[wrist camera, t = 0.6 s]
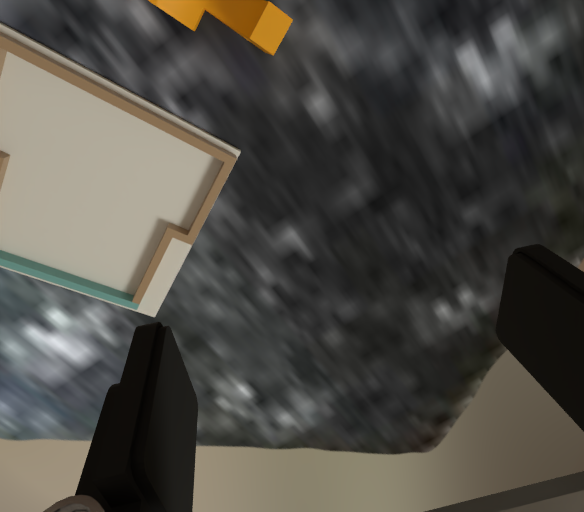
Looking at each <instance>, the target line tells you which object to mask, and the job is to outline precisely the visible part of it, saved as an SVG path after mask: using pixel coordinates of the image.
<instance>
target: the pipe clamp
mask: <svg viewBox="0 0 584 512" xmlns="http://www.w3.org/2000/svg"><path fill="white" fill-rule="evenodd" d="M148 1H150V2H151V3H153V4H154V5H156V6H157V7H159V8H160V9H162V10H163V11H165V12H166V13H168V14H169V15H171V16H172V17H174V18H175V19H177V20H178V21H180V22H181V23H182V24H184V25H185V26H187V27H188V28H190V29H191V30H193V31H195V30H196V28H197V26H198V23H199V21H200V19H201V17H202V15H203V13H204V11H205V10H206V11H207V12H209V13H210V14H212V15H213V16H214V17H216V18H217V19H219V20H220V21H221V22H223V23H224V24H226V25H227V26H228V27H230V28H231V29H233V30H234V31H235V32H237V33H238V34H240V35H241V36H242V37H244V38H245V39H247V40H248V41H249V42H251V43H252V44H254V45H255V46H256V47H258V48H259V49H261V50H262V51H264V52H265V53H268V54H271V55H274V53H275V52H276V50H277V48H278V46H279V44H280V43H281V41H282V39H283V37H284V35H285V34H286V32H287V30H288V28H289V26H290V24H291V23H292V21H293V19H291V18H290V17H289V16H287V15H286V14H285V13H284V12H282V11H281V10H280V9H278V8H277V7H276V6H275V5H273V4H272V3H271V2H269V1H264V0H148Z"/></svg>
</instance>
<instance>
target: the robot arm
mask: <svg viewBox="0 0 584 512" xmlns="http://www.w3.org/2000/svg"><path fill="white" fill-rule="evenodd" d="M496 334H497V337H498V339H499V340H500V342H501V343H502V344H503V345H504V346H505V347H506V348H507V349H508V350H509V351H510V352H511V354H512V355H513V356H514V357H515V358H516V359H517V360H518V361H519V362H520V363H521V364H522V365H523V366H524V367H525V369H526V370H527V371H528V372H529V373H530V374H531V375H532V376H533V377H534V378H535V379H536V381H537V382H538V383H539V384H540V385H541V386H542V387H543V388H544V389H545V390H546V391H547V392H548V393H549V395H550V396H551V397H552V398H553V399H554V400H555V401H556V402H557V403H558V404H559V405H560V406H561V407H562V409H564V411H565V412H566V413H567V414H568V415H569V416H570V417H571V418H572V419H573V420H574V422H575V423H576V424H577V425H578V426H579V427H580V428H581V429H582V430H583V431H584V272H583V271H581V270H580V269H578V268H577V267H575V266H573V265H572V264H570V263H569V262H567V261H566V260H564V259H563V258H561V257H559V256H558V255H556V254H555V253H553V252H552V251H550V250H549V249H547V248H545V247H544V246H542V245H540V244H535V245H530V246H526V247H521V248H517V249H515V250H514V252H513V254H512V255H510V257H509V258H508V263H507V268H506V274H505V280H504V285H503V291H502V297H501V302H500V308H499V314H498V319H497V325H496ZM197 416H198V403H197V397H196V394H195V391H194V389H193V386H192V383H191V381H190V378H189V375H188V373H187V370H186V367H185V365H184V362H183V360H182V357H181V354H180V352H179V349H178V346H177V344H176V341H175V338H174V336H173V333H172V330H171V328H170V327H169V326H165V327H163V326H162V324H161V323H160V322H156V323H151V324H147V325H142V326H138V327H136V329H135V332H134V336H133V339H132V343H131V346H130V350H129V353H128V357H127V360H126V364H125V367H124V371H123V374H122V378H121V381H120V383H118V384H114V385H112V386H111V387H110V388H109V390H108V392H107V395H106V398H105V401H104V404H103V407H102V411H101V414H100V417H99V420H98V423H97V427H96V430H95V433H94V436H93V439H92V442H91V446H90V449H89V452H88V455H87V458H86V462H85V465H84V468H83V471H82V475H81V478H80V481H79V484H78V487H77V490H76V494H75V496H70V497H68V498H65V499H63V500H60V501H58V502H56V503H55V504H53V505H52V506H51V507H49V508H48V509H46V510H45V511H43V512H192V505H193V488H194V470H195V469H194V468H195V452H196V434H197ZM425 512H584V471H583V472H579V473H575V474H571V475H567V476H563V477H559V478H555V479H551V480H547V481H543V482H539V483H536V484H531V485H527V486H523V487H519V488H515V489H511V490H508V491H504V492H500V493H496V494H492V495H488V496H484V497H480V498H476V499H473V500H469V501H465V502H461V503H457V504H453V505H449V506H445V507H441V508H437V509H433V510H429V511H425Z"/></svg>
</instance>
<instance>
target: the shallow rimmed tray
mask: <svg viewBox="0 0 584 512" xmlns="http://www.w3.org/2000/svg"><path fill="white" fill-rule="evenodd" d="M240 152H241V150H239V149H237V148H236V147H234V146H232V145H230V144H228V143H226V142H224V141H222V140H221V139H219V138H217V137H215V136H213V135H211V134H209V133H207V132H206V131H204V130H202V129H200V128H198V127H196V126H194V125H192V124H191V123H189V122H187V121H185V120H183V119H181V118H179V117H177V116H176V115H174V114H172V113H170V112H168V111H166V110H164V109H162V108H161V107H159V106H157V105H155V104H153V103H151V102H149V101H147V100H146V99H144V98H142V97H140V96H138V95H136V94H134V93H132V92H131V91H129V90H127V89H125V88H123V87H121V86H119V85H117V84H116V83H114V82H112V81H110V80H108V79H106V78H104V77H102V76H101V75H99V74H97V73H95V72H93V71H91V70H89V69H87V68H86V67H84V66H82V65H80V64H78V63H76V62H74V61H72V60H71V59H69V58H67V57H65V56H63V55H61V54H59V53H57V52H56V51H54V50H52V49H50V48H48V47H46V46H44V45H42V44H41V43H39V42H37V41H35V40H33V39H31V38H29V37H27V36H26V35H24V34H22V33H20V32H18V31H16V30H14V29H12V28H11V27H9V26H7V25H5V24H3V23H1V22H0V267H2V268H5V269H8V270H11V271H14V272H17V273H20V274H23V275H26V276H29V277H32V278H36V279H39V280H42V281H45V282H48V283H51V284H54V285H57V286H60V287H63V288H66V289H69V290H72V291H75V292H78V293H82V294H85V295H88V296H91V297H94V298H97V299H100V300H103V301H106V302H109V303H112V304H115V305H118V306H121V307H124V308H128V309H131V310H134V311H137V312H140V313H143V314H146V315H149V316H152V317H155V316H156V314H157V312H158V310H159V308H160V306H161V304H162V302H163V300H164V298H165V297H166V295H167V293H168V291H169V289H170V287H171V285H172V283H173V281H174V279H175V277H176V275H177V273H178V272H179V270H180V268H181V266H182V264H183V262H184V260H185V258H186V256H187V254H188V252H189V250H190V248H191V247H192V245H193V243H194V241H195V239H196V237H197V235H198V233H199V231H200V229H201V227H202V225H203V223H204V222H205V220H206V218H207V216H208V214H209V212H210V210H211V208H212V206H213V204H214V202H215V200H216V198H217V197H218V195H219V193H220V191H221V189H222V187H223V185H224V183H225V181H226V179H227V177H228V175H229V173H230V172H231V170H232V168H233V166H234V164H235V162H236V160H237V158H238V156H239V154H240Z"/></svg>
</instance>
